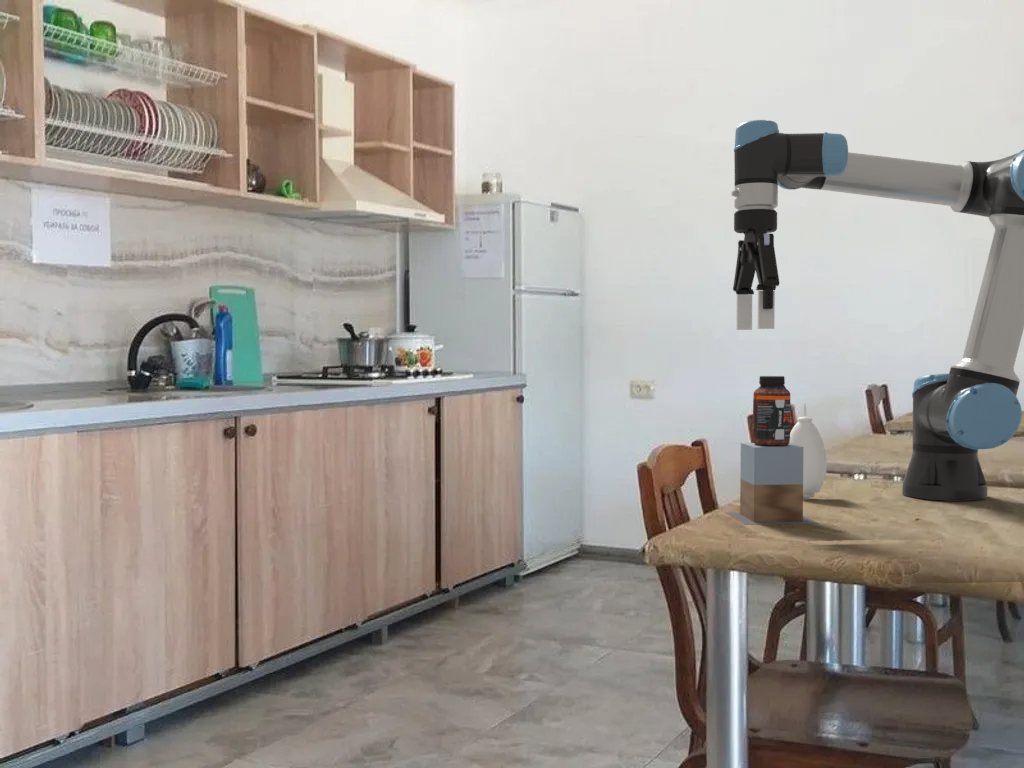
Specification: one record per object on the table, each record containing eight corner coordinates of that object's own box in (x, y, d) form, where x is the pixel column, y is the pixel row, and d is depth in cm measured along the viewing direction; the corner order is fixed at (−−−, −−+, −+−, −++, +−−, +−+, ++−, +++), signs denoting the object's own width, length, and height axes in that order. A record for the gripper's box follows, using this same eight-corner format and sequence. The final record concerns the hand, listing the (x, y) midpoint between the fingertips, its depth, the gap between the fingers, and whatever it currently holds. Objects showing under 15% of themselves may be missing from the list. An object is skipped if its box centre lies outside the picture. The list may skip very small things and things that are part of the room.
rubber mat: (794, 515, 185) (794, 511, 185) (819, 527, 173) (819, 523, 173) (725, 516, 184) (725, 512, 184) (744, 528, 172) (744, 524, 172)
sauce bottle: (810, 503, 199) (811, 405, 198) (774, 498, 204) (775, 403, 204) (834, 499, 204) (835, 403, 203) (798, 494, 210) (799, 401, 209)
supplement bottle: (791, 447, 174) (791, 376, 174) (753, 446, 176) (753, 376, 175) (789, 443, 180) (789, 375, 180) (752, 443, 181) (752, 375, 181)
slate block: (787, 478, 182) (787, 442, 182) (803, 484, 174) (803, 447, 174) (740, 478, 182) (740, 442, 182) (754, 484, 174) (754, 447, 174)
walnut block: (787, 513, 182) (787, 478, 182) (802, 521, 174) (803, 484, 174) (740, 514, 182) (740, 478, 182) (753, 522, 174) (754, 484, 174)
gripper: (717, 217, 206) (716, 330, 206) (754, 200, 181) (753, 328, 181) (756, 218, 206) (755, 330, 207) (799, 200, 181) (797, 328, 182)
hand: (754, 329), depth 194 cm, fingers open, 13 cm apart
